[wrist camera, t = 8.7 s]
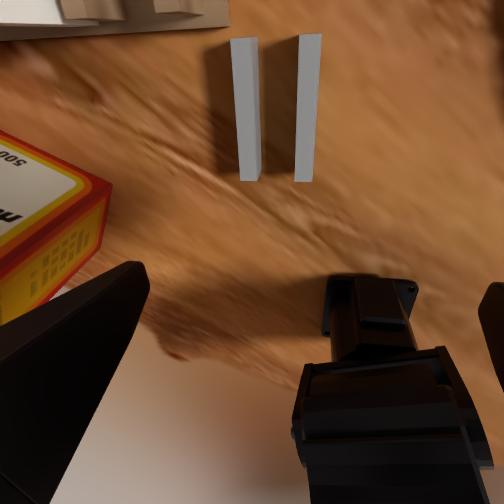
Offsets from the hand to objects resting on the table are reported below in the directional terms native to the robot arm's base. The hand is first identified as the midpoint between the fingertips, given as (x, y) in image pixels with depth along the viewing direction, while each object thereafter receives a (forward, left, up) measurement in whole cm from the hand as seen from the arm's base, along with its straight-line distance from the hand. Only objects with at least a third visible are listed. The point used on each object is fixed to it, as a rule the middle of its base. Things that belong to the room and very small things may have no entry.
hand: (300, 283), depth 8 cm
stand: (+2, +2, -13) cm, 13 cm away
